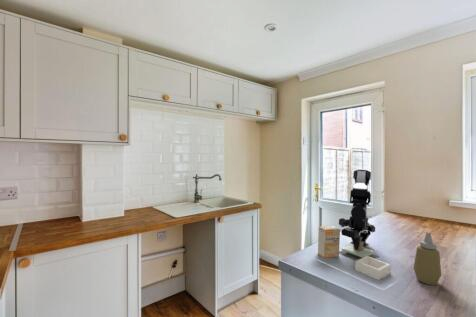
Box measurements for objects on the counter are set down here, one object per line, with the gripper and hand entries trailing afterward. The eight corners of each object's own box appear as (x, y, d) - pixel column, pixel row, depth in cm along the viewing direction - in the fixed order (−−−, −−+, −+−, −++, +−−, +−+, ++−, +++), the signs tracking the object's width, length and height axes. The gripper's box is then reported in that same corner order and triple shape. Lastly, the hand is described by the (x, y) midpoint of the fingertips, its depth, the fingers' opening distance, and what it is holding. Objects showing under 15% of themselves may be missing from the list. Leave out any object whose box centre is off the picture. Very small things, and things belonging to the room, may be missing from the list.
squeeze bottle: (428, 275, 92) (429, 229, 92) (447, 287, 84) (449, 236, 84) (407, 275, 92) (409, 229, 92) (424, 287, 84) (426, 236, 84)
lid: (353, 245, 117) (354, 235, 116) (374, 252, 108) (375, 242, 108) (341, 249, 111) (342, 239, 111) (363, 257, 103) (363, 246, 103)
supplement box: (323, 259, 105) (324, 229, 105) (317, 254, 110) (318, 226, 110) (339, 257, 107) (340, 228, 107) (332, 252, 112) (333, 225, 112)
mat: (352, 247, 119) (352, 246, 119) (379, 257, 108) (379, 256, 108) (336, 253, 111) (336, 252, 111) (364, 264, 101) (364, 263, 101)
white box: (367, 265, 100) (367, 255, 100) (390, 274, 92) (390, 264, 92) (355, 270, 95) (355, 261, 95) (379, 281, 87) (379, 270, 87)
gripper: (353, 209, 121) (352, 239, 121) (331, 213, 111) (330, 246, 111) (376, 213, 112) (375, 246, 112) (354, 219, 101) (353, 255, 102)
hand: (358, 248), depth 110 cm, fingers closed on lid, 3 cm apart
